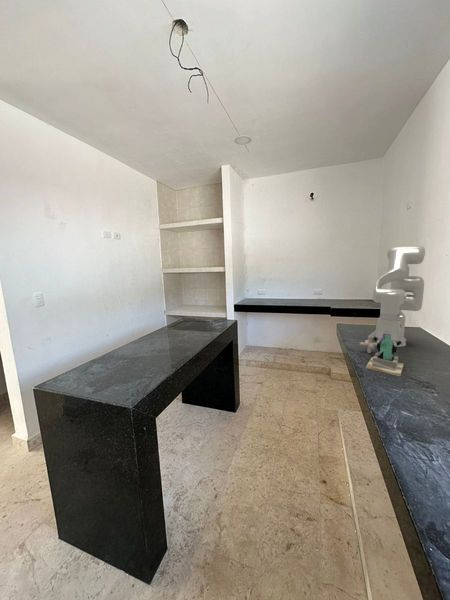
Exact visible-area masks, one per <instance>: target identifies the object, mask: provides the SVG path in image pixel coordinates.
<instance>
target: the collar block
mask: <svg viewBox="0 0 450 600" xmlns="http://www.w3.org/2000/svg"><path fill="white" fill-rule="evenodd" d="M379 353H380V352H379V351H377V352H376V353H375V354H374V356H371V358H370V359H369V360H368V362H367V364H366V366H365V369H368V370H371V371H376V372H378V373H383V374H387V375H391V376H396V377H401V376H402V371H403V369H404V365H405V364H404V363H403V362H399V356H398V355H393V356H392V361H389V360H384V359H379Z"/></svg>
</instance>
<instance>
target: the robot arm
mask: <svg viewBox="0 0 450 600" xmlns="http://www.w3.org/2000/svg"><path fill="white" fill-rule="evenodd" d="M386 251H387V252H386V255H387V256H386V257H387V259H388V264H387V265H388V266H387V271H386V272H385V273H383V274H382V275H380V276H379V278H378V279H377V280H375V283H374V287H373V291H372V299H373V302H375V303H378V304H380V311H379V312H380V315H379V317H378V319H377V321H376V327H375V330H374V331H373V332H371V333H370V334H369V336H371V337H372V340H374V341H375V343H377V346H376V349H377V352H380V341H381V339H382V337H383V333H384V331H387V332H390V333H391V340H392V341H393V343H394V345H393V350H392V354H393V355H395V353H397V350H398V349H397V348H402V347H406V346H407V342H406V341H407V339H406V338H405V327H406V325H405V324H406V315H405V314H404V313H403V311H412V312H418V311H419V312H420V311H421V310H422V307H423V301H424V290H425V289H424V288H425V281H424V278H423V277H421V276H418V275H417V276H416V275H414V276H413V275H410V267H409V265H420V264H422V263H423V262H424V260H425V255H426V249H425V247H424V246H423V245H409V246H408V245H407V246H406V245H405V246H403V245H402V246H393V247H390V248H388V250H386ZM389 283H390V288H383V286H384V285H387V284H389ZM407 293H412V294H407Z"/></svg>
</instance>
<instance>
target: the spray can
mask: <svg viewBox="0 0 450 600" xmlns="http://www.w3.org/2000/svg"><path fill="white" fill-rule="evenodd" d="M393 345H394V343H393V341H392V340H391V333H390V332H387V331H384V333H383V337H382V339H381V340H380V351H379V352H378V353H379V359H384V360H389V361H392V356H394V354H392V350H393Z"/></svg>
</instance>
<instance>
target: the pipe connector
mask: <svg viewBox="0 0 450 600" xmlns="http://www.w3.org/2000/svg"><path fill="white" fill-rule="evenodd" d="M372 340H373V338H372V337H371V336H370V335H368V336H367V339H365V340H364V342H363V341H361V342H359V346H362V347H363V346H365V347H366V346H367V350H366V352H367V353H368V354H371V353H372V350H374V349H375V347H377V343H376V342H373V341H372Z"/></svg>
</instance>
